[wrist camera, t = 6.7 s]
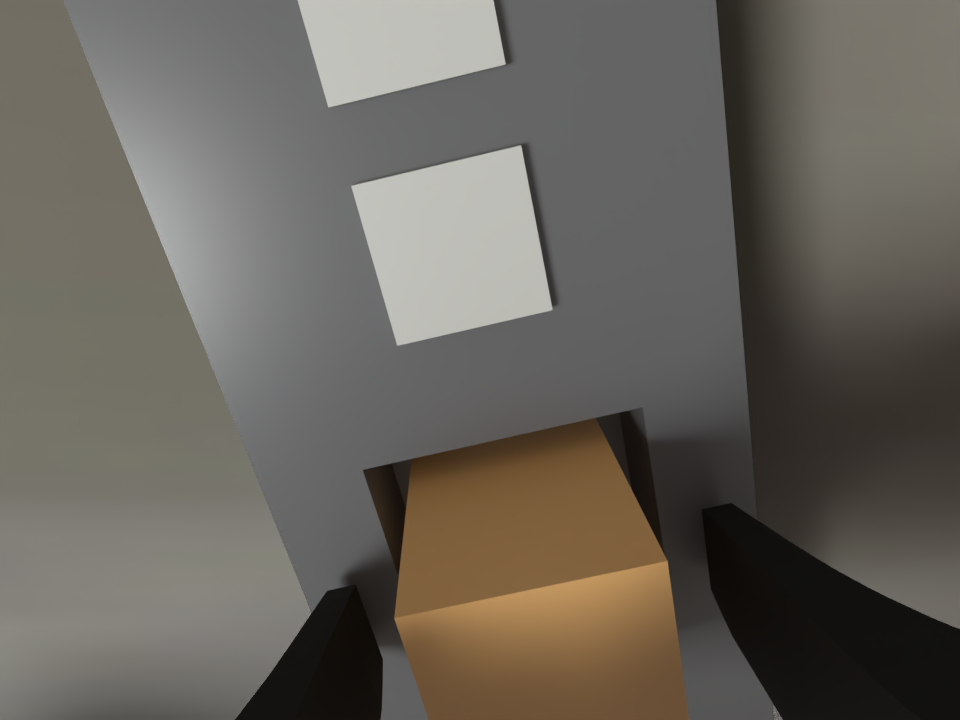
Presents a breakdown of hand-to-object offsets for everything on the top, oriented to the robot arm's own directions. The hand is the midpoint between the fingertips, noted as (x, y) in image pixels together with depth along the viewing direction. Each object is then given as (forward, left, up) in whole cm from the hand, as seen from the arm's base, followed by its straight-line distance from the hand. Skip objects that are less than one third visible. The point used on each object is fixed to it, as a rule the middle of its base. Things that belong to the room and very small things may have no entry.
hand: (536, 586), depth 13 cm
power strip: (0, +4, -3) cm, 5 cm away
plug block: (0, 0, -3) cm, 3 cm away
